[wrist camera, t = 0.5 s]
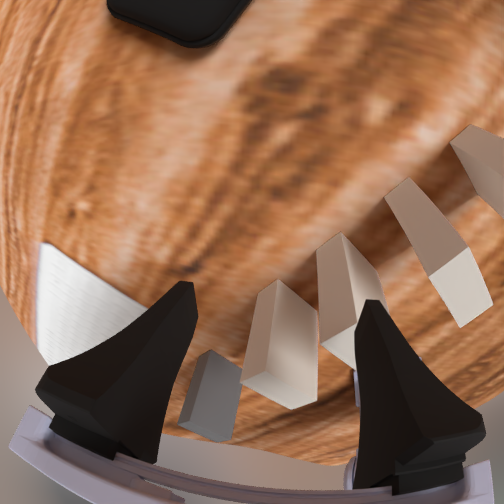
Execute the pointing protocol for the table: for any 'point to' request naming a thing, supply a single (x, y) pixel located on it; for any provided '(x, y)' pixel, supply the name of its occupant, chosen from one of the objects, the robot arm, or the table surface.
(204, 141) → the table surface
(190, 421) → the domino
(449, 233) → the domino
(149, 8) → the carrying case or bag
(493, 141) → the domino
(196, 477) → the robot arm
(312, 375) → the domino
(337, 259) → the domino
